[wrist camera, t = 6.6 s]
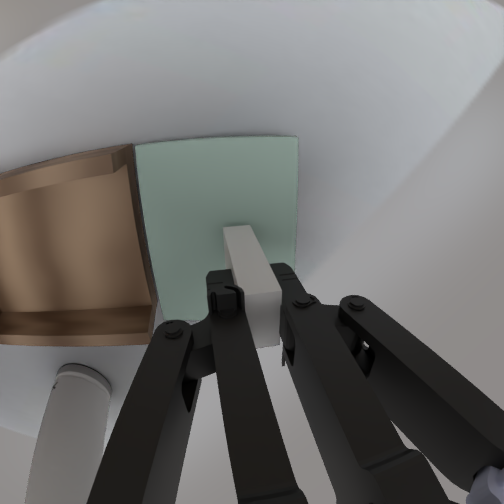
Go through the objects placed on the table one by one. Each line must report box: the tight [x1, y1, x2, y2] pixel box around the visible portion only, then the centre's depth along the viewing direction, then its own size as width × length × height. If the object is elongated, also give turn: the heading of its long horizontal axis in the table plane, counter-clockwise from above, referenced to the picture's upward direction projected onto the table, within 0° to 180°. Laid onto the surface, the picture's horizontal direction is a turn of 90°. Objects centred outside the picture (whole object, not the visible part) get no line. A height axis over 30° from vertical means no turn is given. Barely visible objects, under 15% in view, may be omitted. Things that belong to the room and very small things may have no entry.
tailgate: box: [135, 136, 298, 320], centre depth 19 cm, size 2×12×9 cm
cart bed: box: [0, 144, 157, 346], centre depth 13 cm, size 16×12×12 cm
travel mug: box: [25, 364, 112, 504], centre depth 17 cm, size 6×7×20 cm
